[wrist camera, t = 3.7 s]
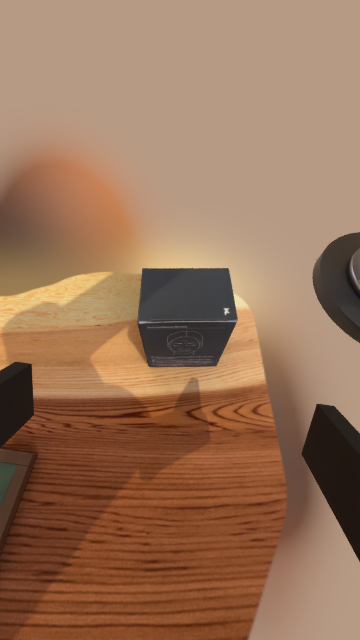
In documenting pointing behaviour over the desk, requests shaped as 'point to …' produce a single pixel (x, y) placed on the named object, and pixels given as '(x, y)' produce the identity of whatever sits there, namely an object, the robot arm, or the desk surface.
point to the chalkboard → (12, 485)
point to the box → (185, 316)
